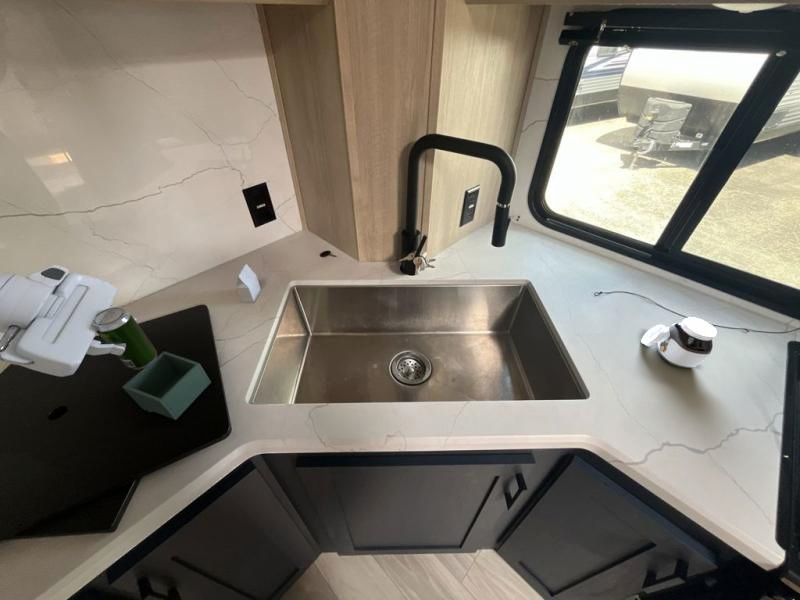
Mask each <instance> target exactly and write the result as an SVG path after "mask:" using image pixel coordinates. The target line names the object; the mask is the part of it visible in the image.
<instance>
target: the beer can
mask: <svg viewBox="0 0 800 600" xmlns="http://www.w3.org/2000/svg"><path fill="white" fill-rule="evenodd" d="M96 316H97V318H96V320H95V321H96V324H94V322H93V321H92V325H93V326H95V328H96V329H97V333H96V334H98V336H99V337H100V338H101V339H102V340H103V341H104V343H105V344H114V343H115V341H118V342H121V343H126V344H127V346H126V348H125V351H124V352H123V354H122V355H116V357H117V358H118V359H119V360H120V361H121V362H122V363H123V365H125V367H126V368H128V369H131V370H141V369H142V370H143V369H144V368H145V367H147V366H149V365H151V364H152V363H153V362H154V361H155V360H156V358H157V357H158V350H157V349H156V347H155V346H154V344H153V343H152V341H151V340H150V339H149V337H148V336H147V335H146V333H145V332H144V330H143V329H142V328H141V326H140V325H139V324H138V321H135V320H134V318H135V317H134V316H132V314H131V312H130V311H129V310H127V309H126V308H125V307H122V306H114V307H112V308H108V309H105V310H103V311H101V312H99V313H98V314H96ZM96 316H95V317H96ZM95 317H94V318H95Z"/></svg>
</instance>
